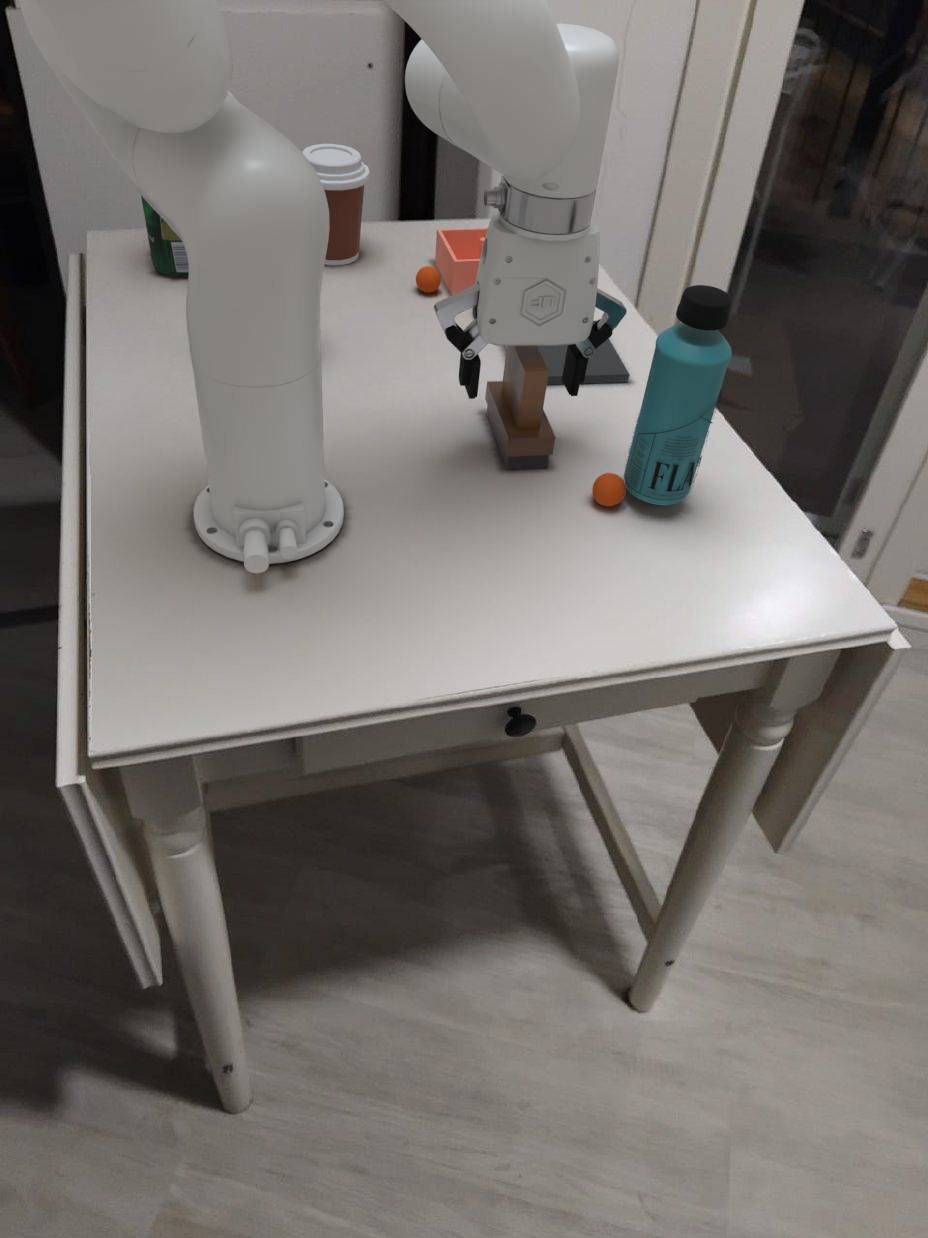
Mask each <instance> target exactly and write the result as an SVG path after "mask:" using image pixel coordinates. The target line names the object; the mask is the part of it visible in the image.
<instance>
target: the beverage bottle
mask: <svg viewBox="0 0 928 1238" xmlns="http://www.w3.org/2000/svg"><path fill="white" fill-rule="evenodd" d="M732 301H733V300H732V297H731V295H730V294H729V293H727V292H726V291H725V290H723V289H721V288H718V287H715V286H711V285H705V284H696V285H690V286H687V287H686V288H685V289H684V290H683V292H682V294H681V299H680V301H679V304H678V306H677V307H676V312H675V316H676V318H677V320H678V321H679V323H676V324H674V325H672V326H670V327H668V328H666V329H665V330H663V331H662V332H660V333H659V334H658V336H657V337H656V339H655V347H654V351H653V356H652V360H651V364H650V369H649V373H648V375H647V381H646V385H645V389H644V393H643V397H642V402H641V406H640V408H639V409H640V410H639V413H638V416H637V417H636V420H635V423H636V424H635V426H634V428H633V435H632V441H631V443H630V444H629V446H628V447H629V448H628V452H627V453H628V456H627V457H626V464H624V467H625V468H624V473H623V481H624V483H625V486H626V490H628V493H630V494H631V495H633V496H634V497H635V498H636V499H639V500H641V501H643V502H645V503H648V504H652V505H657V506H669V505H675V504H678V503H680V502H682V501H683V500H684V499H686V497H687V496H688V495H689V494H690V493H691V491H692V489H693V485H694V483H695V482H696V481H695V479H696V478H697V475H698V472H699V468H700V466H701V461H702V457H703V455H702V453H704V451H705V450H704V448H706V445H707V444H706V440H708V438H709V435H710V430H709V429H710V426H711V424H713V421H712V420H714V418H715V415H714V414H715V411H717V407H718V405H719V403H720V399H721V396H722V392H723V391H722V388H723V383H724V384H725V382H724V380H725V377H726V372H727V368H728V366H729V363H730V361H731V359H732V355H733V353H732V351H733V350H732V347H731V345H730V343H729V342H728V340H727V339H726V338H725V336H724V335H723V334H722V333H721V332H720V331H719V330H722V329H724V328H726V327H727V325H728V322H729V319H730V312H731V307H732Z"/></svg>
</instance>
